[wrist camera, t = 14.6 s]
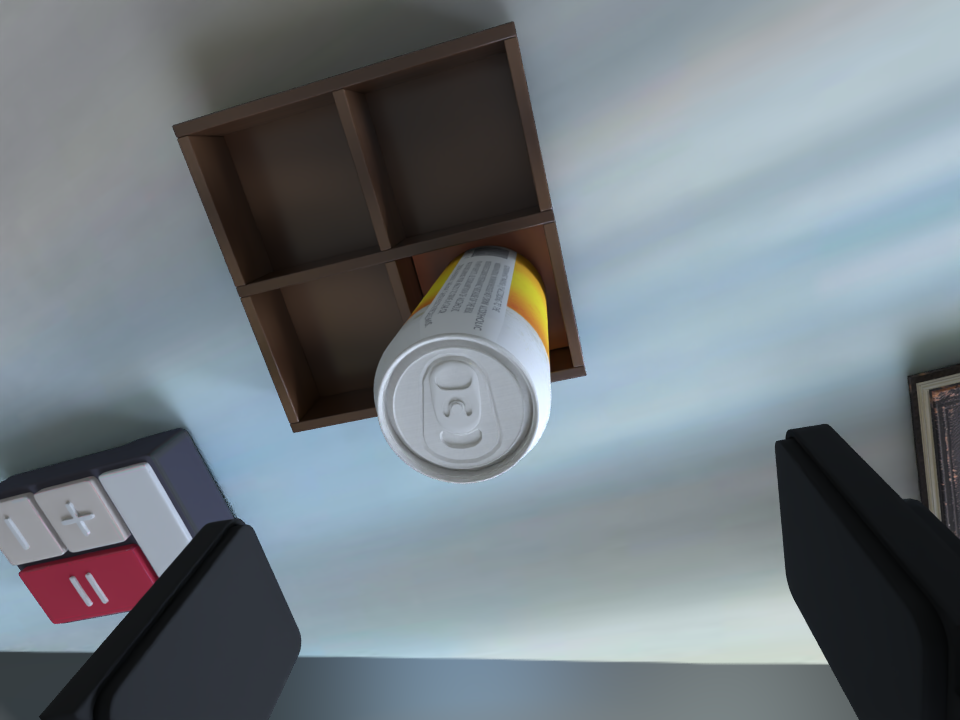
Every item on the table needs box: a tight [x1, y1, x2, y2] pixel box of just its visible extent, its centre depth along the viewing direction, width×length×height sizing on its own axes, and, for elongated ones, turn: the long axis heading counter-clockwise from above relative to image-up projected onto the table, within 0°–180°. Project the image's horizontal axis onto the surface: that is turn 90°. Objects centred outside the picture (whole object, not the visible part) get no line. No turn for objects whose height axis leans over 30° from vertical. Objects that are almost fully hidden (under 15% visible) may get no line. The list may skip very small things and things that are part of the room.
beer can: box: [374, 246, 551, 484], centre depth 26 cm, size 6×6×15 cm
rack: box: [172, 22, 587, 433], centre depth 31 cm, size 17×17×4 cm
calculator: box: [0, 428, 235, 624], centre depth 40 cm, size 11×4×15 cm
